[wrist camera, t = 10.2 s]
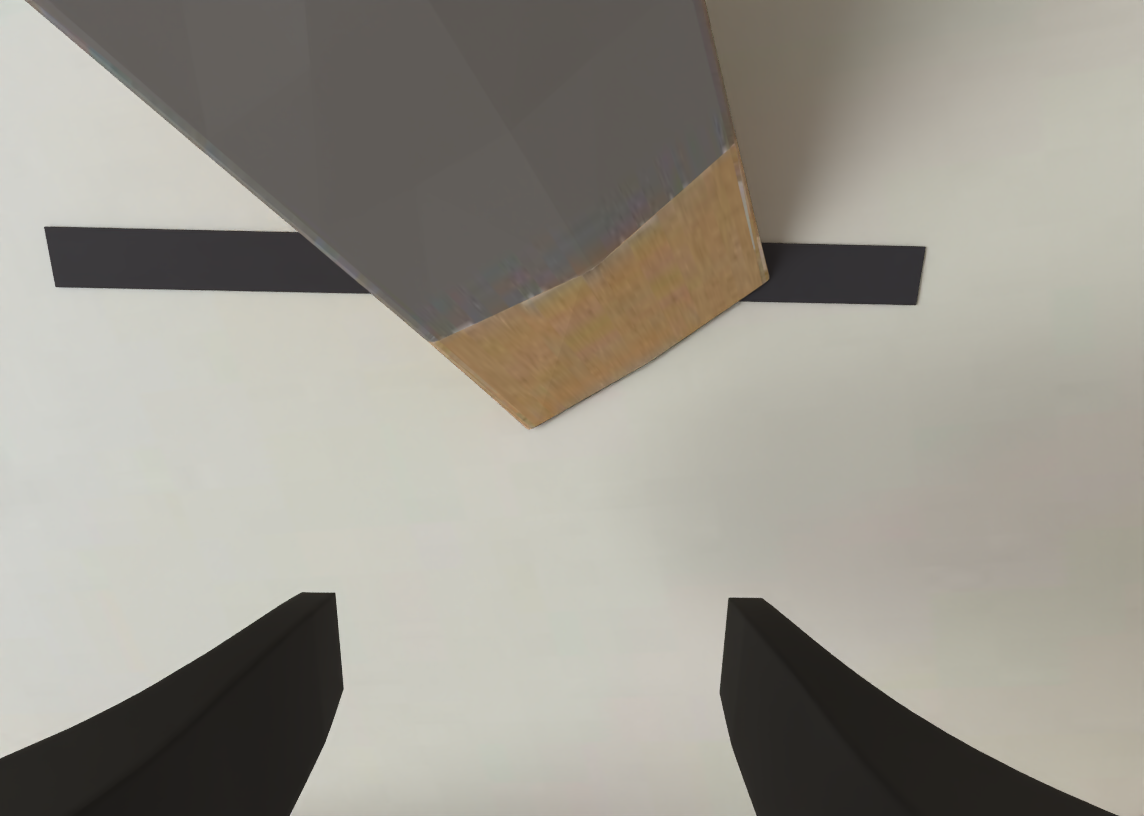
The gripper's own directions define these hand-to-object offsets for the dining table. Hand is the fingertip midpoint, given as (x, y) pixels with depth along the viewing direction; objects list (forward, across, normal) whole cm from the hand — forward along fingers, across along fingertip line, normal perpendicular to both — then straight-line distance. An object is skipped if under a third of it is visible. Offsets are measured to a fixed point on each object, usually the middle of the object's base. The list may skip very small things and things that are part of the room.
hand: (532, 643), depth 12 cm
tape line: (+8, +2, -6) cm, 10 cm away
